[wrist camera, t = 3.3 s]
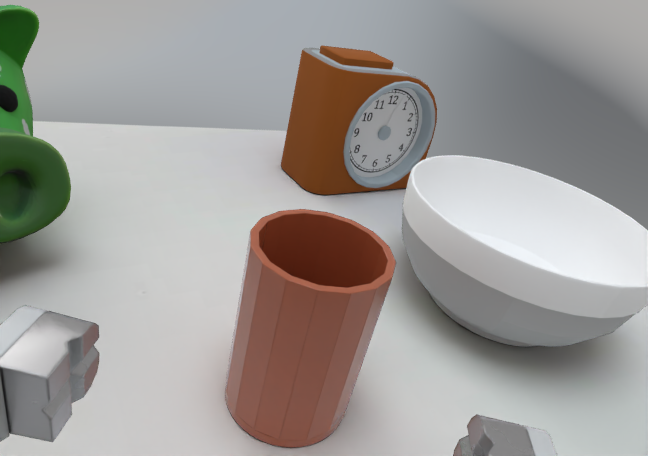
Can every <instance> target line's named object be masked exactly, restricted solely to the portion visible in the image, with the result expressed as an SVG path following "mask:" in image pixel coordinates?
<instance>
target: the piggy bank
mask: <svg viewBox="0 0 648 456" xmlns="http://www.w3.org/2000/svg"><path fill="white" fill-rule="evenodd" d="M38 29H39V20H38V17H37V15H36V14H35V13H34V12H33V11H31V10H30V9H27V8H24V7H21V6H15V5H7V6H0V243H6V242H11V241H14V240H17V239H20V238H23V237H25V236H28V235H30V234H32V233H35V232H37V231H38V230H40V229H42V228H44V227H46V226H47V225H49V224H50V223H51V222H52V221H54V220H55V219H56V218H57V217H59V216H60V215H61V214H62V212H63V211H64V210H65V209H66V207H67V204H68V202H69V200H70V191H71V184H70V177H69V172H68V169H67V166H66V163H65V161H64V159H63V157H62V156H61V155H60V153H59V152H58V151H57V150H56V149H55V148H54V147H53V146H52V145H50V144H49V143H47V142H45V141H43V140H41V139H38V138H36V137H33V118H32V105H31V99H30V95H29V91H28V87H27V84H26V81H25V77H24V74H23V70H22V67H23V65H24V62H25V59H26V57H27V54H28V53H29V50H30V48H31V46H32V44H33V42H34V40H35V38H36V35H37V32H38Z"/></svg>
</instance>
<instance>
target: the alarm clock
mask: <svg viewBox="0 0 648 456" xmlns="http://www.w3.org/2000/svg"><path fill="white" fill-rule="evenodd" d="M436 120H437V108H436V103H435V98H434V96H433V94H432V92H431V90H430V89H429V87H428V85H426V84H425V83H424V82H423V81H421V80H420V79H419V78H417V77H415V76H412V75H410V74H408V73H406V72H404V71H402V70H400V69H398V68H396V67H393V62H392V61H390V60H388V59H386V58H384V57H381V56H379V55H377V54H375V53H373V52H371V51H363V50H354V49H346V48H338V47H329V46H321V47H320V49H316V48H304V49H303V50H302V54H301V59H300V65H299V70H298V76H297V81H296V86H295V91H294V97H293V102H292V108H291V113H290V119H289V124H288V130H287V135H286V140H285V146H284V151H283V156H282V162H281V166H282V169H283V170H284V171H285V172H286V173H287V174H288V175H289V176H290V177H292V178H293V179H294V180H295V181H296V182H297V183H298V184H299V185H300V186H301V187H302V188H304V189H305V190H307V191H309V192H312V193H316V194H322V195H328V194H340V193H352V192H364V191H376V190H387V189H399V188H407V183H408V179H409V175H410V173H411V170H412V168H413V167H414V166H415V165H416V164H418V163H419V162H420V161H422V160H425V159H426V156H427V153H428V150H429V147H430V144H431V141H432V138H433V135H434V131H435V126H436Z"/></svg>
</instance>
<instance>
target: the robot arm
mask: <svg viewBox="0 0 648 456" xmlns="http://www.w3.org/2000/svg"><path fill="white" fill-rule="evenodd" d="M98 338H99V326H98V325H97V324H95V323H92V322H89V321H85V320H81V319H77V318H74V317H70V316H66V315H63V314H59V313H55V312H51V311H46V310H42V309H38V308H35V307H31V306H27V305H25V306H22V307H20V308H18V309H16V310H15V311H14V312H13V313H12V314H11V315H10V316H9V317H8V318H7V319H6V320H5V321H4V322H3V323H2V324H1V325H0V442H1V441H2V440H4V439H5V438H7V437H9V433H10V434H15V435H20V436H25V437H30V438H35V439H40V440H44V441H49V442H53V441H54V440H55V439H56V437H57V436H58V434H59V433H60V431H61V430H62V428H63V427H64V425H65V424H66V422H67V421H68V420H69V418H70V417H71V415H72V403H73V402H75V401H77V400H79V399H81V398H83V397H84V396H85V394H86V393H87V391H88V390H89V388H90V387H91V385H92V383H93V380H94V378H95V375H96V373H97V369H98V365H99V352H98V351H97V349H96V348H95V347H94V344H95V342H96V341H97V340H98ZM467 428H468V433H469V435H468V436H466V437H463V438H461V439H460V440H459V442H458V444H457V446H456V448H455V450H454V454H453V456H558V455H557V453H556V450H555V447H554V444H553V442H552V439H551V436H550V435H549V434H548V433H547V431H545V430H540V429H536V428H532V427H528V426H523V425H522V426H521V425H519V424H515V423H511V422H506V421H502V420H497V419H493V418H489V417H484V416H480V415H475V416H474V417H472V418H471V420H470V422H469V424H468V425H467Z"/></svg>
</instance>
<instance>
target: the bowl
mask: <svg viewBox="0 0 648 456" xmlns="http://www.w3.org/2000/svg"><path fill="white" fill-rule="evenodd" d="M402 237H403V242H404V245H405V248H406V250H407V253H408V256H409V259H410V262H411V265H412V267H413V269H414V272H415V274H416V276H417V277H418V279H419V280H420V281H421V283H422V284H423V286H424V287H425V288H426V289H427V290H428V291H429V293H430V295H431V297H432V298H433V300H434V301H435V302H436V304H437V305H438V306H439V307H440V308H441V309H442V310H443V311H444V312H445V313H446V314H447V315H448V316H449V317H451V318H452V319H453V320H454V321H456V322H457V323H459V324H460V325H462V326H463V327H465V328H467V329H468V330H470V331H472V332H474V333H476V334H478V335H480V336H482V337H485V338H488V339H490V340H493V341H496V342H499V343H504V344H508V345H512V346H523V347H528V346H538V345H541V346H551V347H554V346H568V345H572V344H575V343H579V342H582V341H586V340H589V339H593V338H596V337H599V336H603V335H606V334H609V333H612V332H614V331H615V330H616V329H617V328H619V327H620V326H621V325H622V324H623V323H625V322H626V321H627V320H628V319H630V318H631V317H632V316H633V315H635V314H636V313H638V312H639V311H641V310H642V309H643V308H644V307H646V306H647V305H648V230H647V229H645V228H644V227H643V226H642V225H640V224H639V223H638V222H636V221H635V220H634V219H632V218H631V217H629V216H628V215H626V214H625V213H623V212H622V211H620V210H618V209H617V208H615V207H614V206H612V205H610V204H608V203H606V202H605V201H603V200H601V199H599V198H597V197H595V196H593V195H591V194H589V193H587V192H585V191H583V190H581V189H579V188H576V187H574V186H572V185H570V184H567V183H565V182H562V181H560V180H558V179H555V178H552V177H550V176H547V175H544V174H541V173H538V172H536V171H532V170H529V169H526V168H522V167H519V166H516V165H512V164H508V163H503V162H499V161H495V160H490V159H484V158H479V157H470V156H458V155H456V156H455V155H449V156H447V155H444V156H437V157H430V158H427V159H425V160H422V161H420V162H419V163H418V164H416V165H415V166H414V167H413V168H412V170H411V173H410V175H409V179H408V183H407V188H406V192H405V196H404V200H403V217H402Z"/></svg>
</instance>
